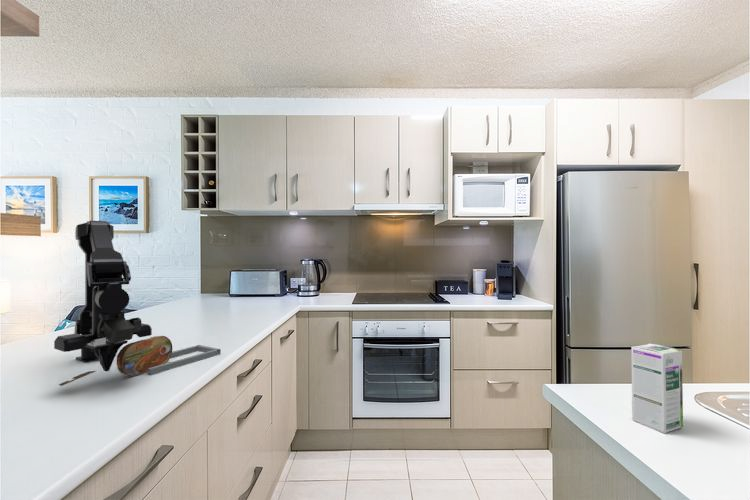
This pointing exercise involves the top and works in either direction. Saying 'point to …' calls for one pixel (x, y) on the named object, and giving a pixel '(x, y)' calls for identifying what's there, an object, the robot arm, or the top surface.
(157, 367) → the slate corral
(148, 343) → the tin
